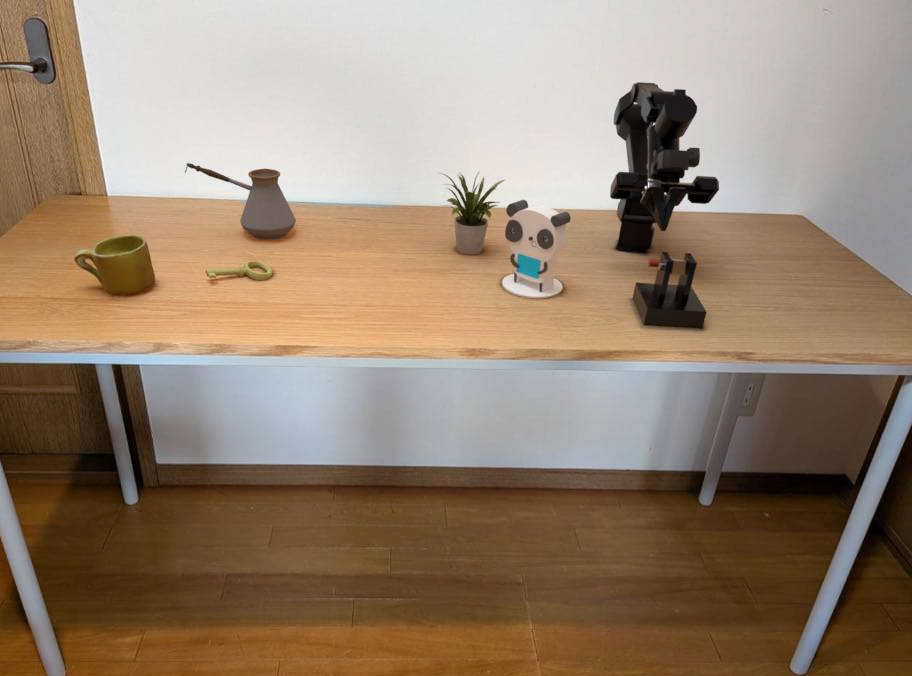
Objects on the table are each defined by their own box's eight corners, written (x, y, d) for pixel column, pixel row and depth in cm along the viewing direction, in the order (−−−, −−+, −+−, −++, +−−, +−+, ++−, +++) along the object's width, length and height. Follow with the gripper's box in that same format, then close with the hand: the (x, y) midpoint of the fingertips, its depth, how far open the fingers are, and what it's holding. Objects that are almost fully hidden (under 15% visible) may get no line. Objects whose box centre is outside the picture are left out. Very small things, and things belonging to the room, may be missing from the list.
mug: (170, 264, 138) (145, 220, 130) (157, 302, 132) (130, 258, 124) (108, 272, 140) (80, 230, 132) (93, 310, 133) (63, 268, 126)
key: (203, 280, 137) (201, 269, 136) (259, 264, 145) (258, 254, 144) (225, 293, 133) (224, 282, 132) (281, 275, 141) (280, 265, 140)
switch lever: (647, 269, 137) (649, 255, 136) (677, 270, 136) (679, 257, 136) (661, 273, 127) (663, 259, 126) (694, 275, 127) (696, 261, 126)
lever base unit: (632, 300, 137) (643, 243, 132) (686, 303, 137) (700, 247, 131) (643, 326, 128) (656, 267, 122) (701, 330, 128) (717, 271, 122)
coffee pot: (296, 224, 164) (291, 154, 156) (296, 243, 155) (292, 170, 147) (196, 226, 161) (186, 155, 153) (190, 245, 152) (180, 170, 144)
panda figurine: (487, 283, 141) (494, 205, 133) (523, 268, 148) (531, 193, 140) (538, 303, 134) (549, 223, 126) (574, 286, 141) (586, 209, 133)
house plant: (418, 254, 152) (420, 174, 143) (442, 233, 163) (446, 157, 154) (484, 267, 148) (491, 185, 139) (505, 244, 159) (512, 167, 150)
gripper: (624, 126, 133) (623, 207, 130) (729, 131, 132) (731, 213, 129) (610, 159, 144) (608, 234, 141) (707, 164, 143) (708, 240, 140)
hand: (663, 230), depth 137 cm, fingers closed
